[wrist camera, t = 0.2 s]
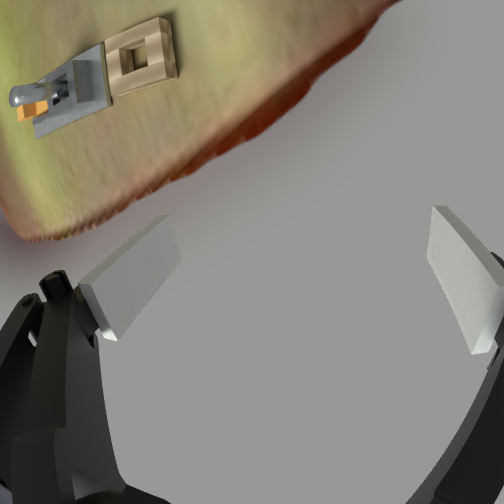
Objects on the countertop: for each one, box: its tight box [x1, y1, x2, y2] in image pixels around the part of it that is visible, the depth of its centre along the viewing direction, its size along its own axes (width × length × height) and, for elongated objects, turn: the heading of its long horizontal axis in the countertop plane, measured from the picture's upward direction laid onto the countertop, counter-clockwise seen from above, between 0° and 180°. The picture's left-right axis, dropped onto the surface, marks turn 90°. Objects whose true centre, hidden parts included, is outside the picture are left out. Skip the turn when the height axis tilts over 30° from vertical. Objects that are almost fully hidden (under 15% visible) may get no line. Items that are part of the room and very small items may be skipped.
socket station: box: [33, 44, 112, 139], centre depth 38 cm, size 12×22×5 cm, turn 98°
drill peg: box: [9, 80, 69, 107], centre depth 32 cm, size 3×3×14 cm
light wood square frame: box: [105, 17, 178, 96], centre depth 34 cm, size 10×10×4 cm
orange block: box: [17, 100, 48, 122], centre depth 38 cm, size 3×8×5 cm, turn 97°
